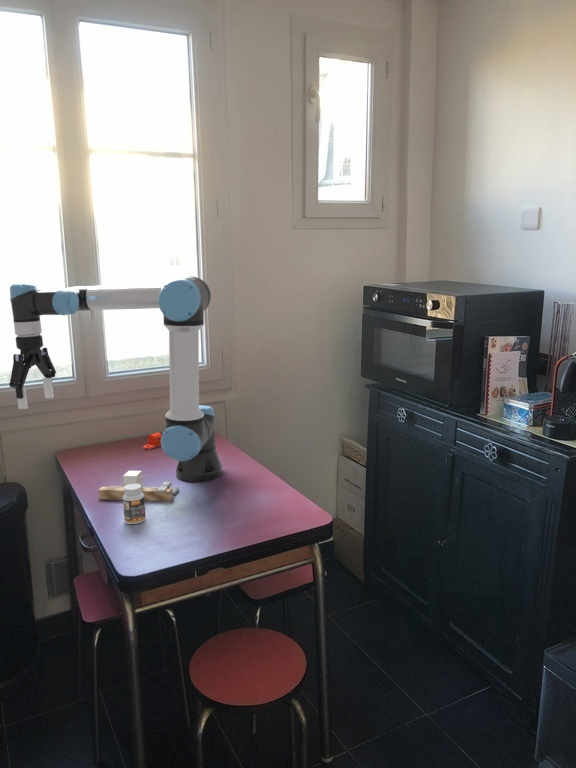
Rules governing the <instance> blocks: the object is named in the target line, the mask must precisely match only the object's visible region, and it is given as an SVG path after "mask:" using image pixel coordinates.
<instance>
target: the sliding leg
mask: <svg viewBox="0 0 576 768" xmlns="http://www.w3.org/2000/svg"><path fill="white" fill-rule="evenodd" d="M122 479H123V486H124V487H125V486H126V485H129V484H140V485H141V487H142V488H143V486H144V485H143V480H144V476H143V472H142V470H127V472H125V473H124V474H123V476H122Z"/></svg>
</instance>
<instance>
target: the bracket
mask: <svg viewBox="0 0 576 768" xmlns="http://www.w3.org/2000/svg"><path fill="white" fill-rule="evenodd" d="M162 435H163V434H161V433H160V432H155V433H151V434H149V435H148V437H147V443H148V444H144V445H143V446H142V449H143V448H146V449H149V448H152V447H155V446H158V445H160V444H161V437H162ZM147 446H149V447H147Z"/></svg>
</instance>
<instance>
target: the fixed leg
mask: <svg viewBox="0 0 576 768" xmlns="http://www.w3.org/2000/svg"><path fill="white" fill-rule="evenodd" d="M159 487H160V488H159V489H158V490H157V491H158V492H165V491H166V489H170V487H172V481H171V480H170V481H167V480H166V481H164V482H163V483H162V485H160V486H159Z"/></svg>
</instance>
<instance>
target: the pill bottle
mask: <svg viewBox="0 0 576 768" xmlns="http://www.w3.org/2000/svg"><path fill="white" fill-rule="evenodd" d="M141 490H142V487H141V485H140V484H129V485H126V486H125V487H124V492H125V494H124V496H123V500H122V505H123V507H122V508H123V517H124V522H125V523H126V524H128V525H137V524H141V523H143V522H144V521H145V520H146V516H147V515H146V514H147V513H146V505H145V503H146V501H145V499H144V494H143V493H142V492H141Z"/></svg>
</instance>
